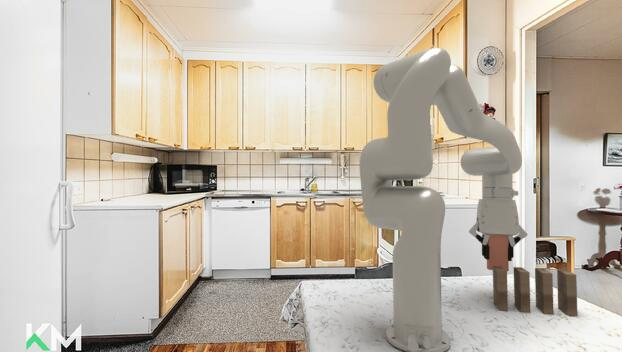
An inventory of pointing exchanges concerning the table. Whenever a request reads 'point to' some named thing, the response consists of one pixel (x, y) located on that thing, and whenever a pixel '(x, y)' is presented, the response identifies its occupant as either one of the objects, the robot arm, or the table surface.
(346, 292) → the table surface
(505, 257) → the red tile
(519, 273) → the tile
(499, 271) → the tile
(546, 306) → the tile
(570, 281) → the tile
